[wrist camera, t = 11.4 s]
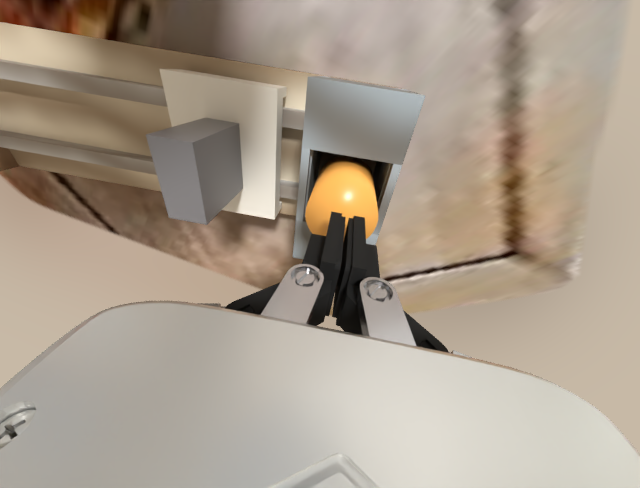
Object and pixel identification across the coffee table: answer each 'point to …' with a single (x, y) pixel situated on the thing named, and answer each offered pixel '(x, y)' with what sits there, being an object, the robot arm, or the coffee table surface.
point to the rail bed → (152, 115)
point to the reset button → (342, 195)
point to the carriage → (219, 146)
